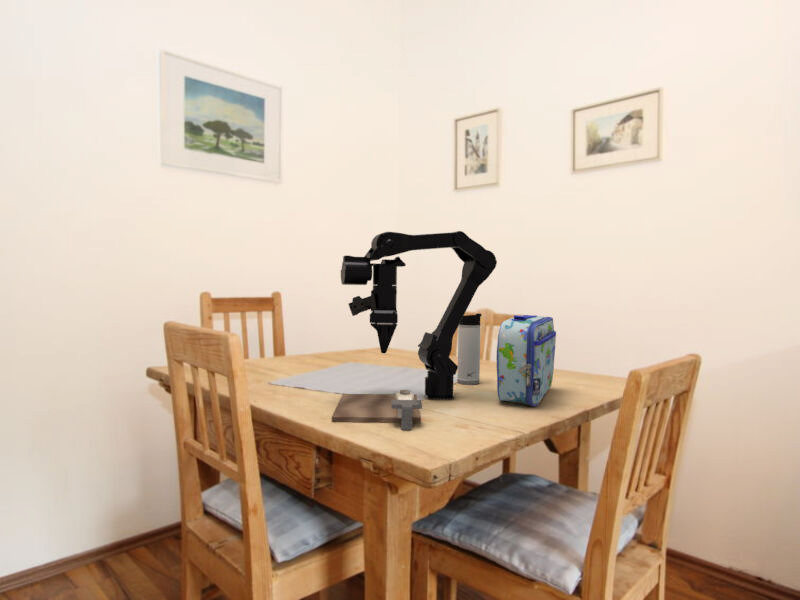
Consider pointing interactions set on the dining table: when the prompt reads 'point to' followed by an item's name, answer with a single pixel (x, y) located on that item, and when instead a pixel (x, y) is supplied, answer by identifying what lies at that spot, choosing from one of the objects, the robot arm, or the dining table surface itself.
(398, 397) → the cream link
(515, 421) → the dining table surface
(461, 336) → the travel mug
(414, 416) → the walnut board
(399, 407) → the metal keeper
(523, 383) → the lunch box
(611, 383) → the dining table surface
